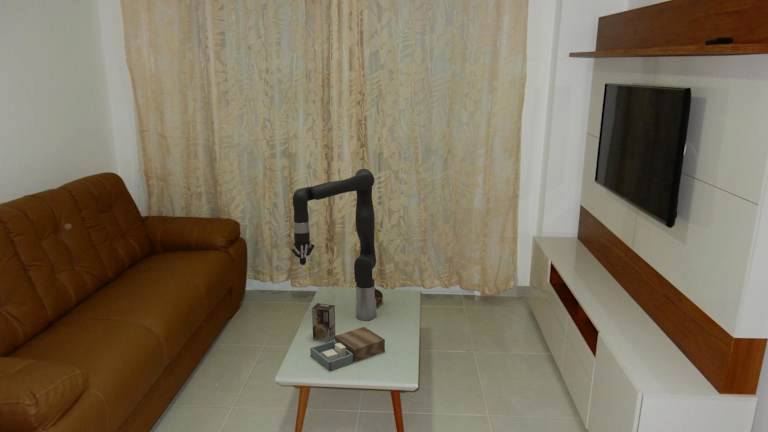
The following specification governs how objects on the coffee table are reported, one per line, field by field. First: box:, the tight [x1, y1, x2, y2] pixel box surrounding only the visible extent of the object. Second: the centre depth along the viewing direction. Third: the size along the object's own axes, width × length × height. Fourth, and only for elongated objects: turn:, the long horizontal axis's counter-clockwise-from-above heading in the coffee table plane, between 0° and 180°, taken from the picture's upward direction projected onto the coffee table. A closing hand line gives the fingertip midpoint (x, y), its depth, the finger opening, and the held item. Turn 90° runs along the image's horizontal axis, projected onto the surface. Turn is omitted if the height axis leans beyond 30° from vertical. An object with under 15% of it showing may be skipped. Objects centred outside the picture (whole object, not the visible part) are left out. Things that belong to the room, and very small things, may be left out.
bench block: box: [334, 326, 386, 363], centre depth 252 cm, size 16×16×6 cm
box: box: [309, 339, 355, 372], centre depth 244 cm, size 12×16×4 cm
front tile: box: [322, 349, 338, 361], centre depth 243 cm, size 5×5×2 cm
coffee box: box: [311, 302, 336, 343], centre depth 261 cm, size 9×6×16 cm
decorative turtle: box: [374, 286, 384, 306], centre depth 303 cm, size 10×15×8 cm, turn 18°
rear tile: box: [335, 343, 346, 358], centre depth 245 cm, size 5×5×2 cm
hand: (302, 264), depth 276 cm, fingers closed
